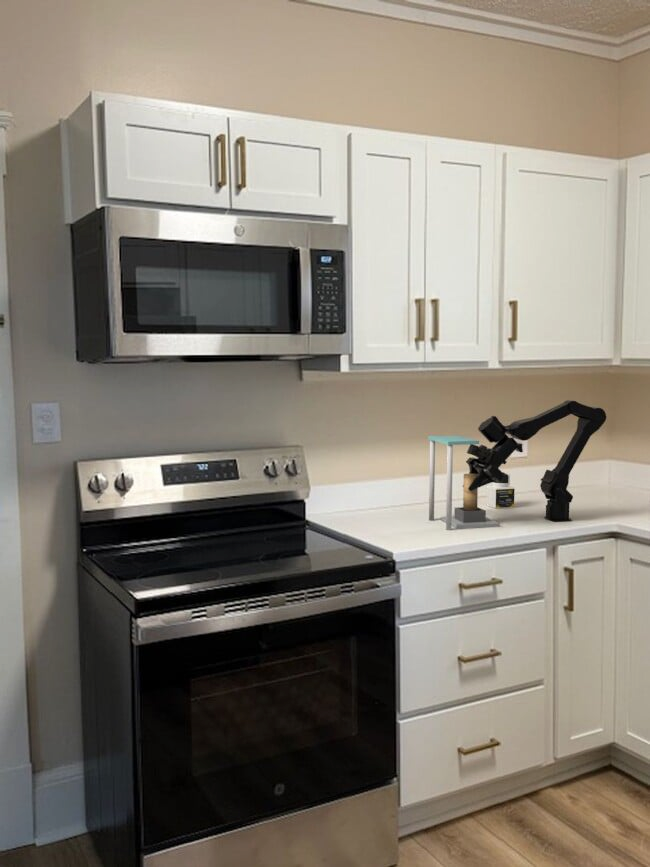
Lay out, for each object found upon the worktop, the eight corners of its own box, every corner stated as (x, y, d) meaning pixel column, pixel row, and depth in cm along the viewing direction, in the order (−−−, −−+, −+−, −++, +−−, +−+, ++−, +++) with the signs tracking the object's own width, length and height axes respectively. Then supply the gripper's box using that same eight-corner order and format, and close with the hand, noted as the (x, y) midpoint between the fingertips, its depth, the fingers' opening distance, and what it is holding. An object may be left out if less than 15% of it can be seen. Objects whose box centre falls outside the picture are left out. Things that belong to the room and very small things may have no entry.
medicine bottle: (495, 509, 299) (496, 474, 298) (486, 505, 306) (487, 471, 305) (514, 508, 301) (515, 473, 300) (504, 504, 308) (505, 471, 307)
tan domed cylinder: (469, 507, 277) (470, 473, 276) (480, 509, 273) (480, 474, 272) (460, 508, 274) (460, 474, 273) (470, 510, 271) (471, 475, 269)
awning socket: (479, 517, 284) (480, 435, 281) (501, 527, 267) (503, 440, 265) (427, 519, 280) (428, 436, 277) (446, 530, 263) (448, 441, 261)
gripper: (472, 432, 281) (439, 467, 280) (494, 438, 263) (459, 475, 262) (494, 456, 284) (462, 490, 282) (518, 463, 265) (484, 500, 264)
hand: (466, 488), depth 273 cm, fingers closed on tan domed cylinder, 4 cm apart
